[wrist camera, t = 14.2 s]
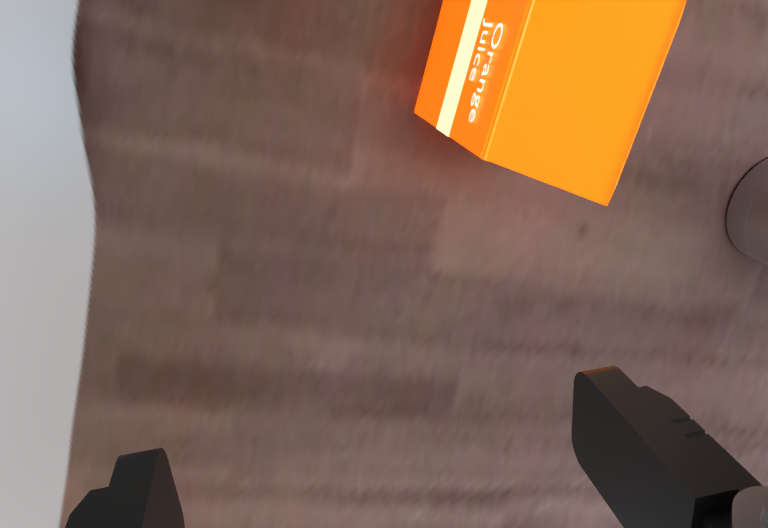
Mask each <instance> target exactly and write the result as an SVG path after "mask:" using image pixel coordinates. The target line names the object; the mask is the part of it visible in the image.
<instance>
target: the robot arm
mask: <svg viewBox="0 0 768 528" xmlns="http://www.w3.org/2000/svg"><path fill="white" fill-rule="evenodd" d="M727 231H728V235H729V238H730V240H731V242H732V244H733V245H734V246H735V247H736V248H737V249H738V250H739V251H741V252H742V253H744V254H746V255H747V256H749V257H751V258H753V259H755V260H757V261H759V262H761V263H763V264H765V265H767V266H768V158H767V159H765V160H764V161H762V162H761V163H759V164H758V165H756V166H755V167H754V168H753V169H752V170H751V171H749V172H748V174H747V175H746V176H745V177H744V178H743V179H742V181H741V182H740V183H739V185H738V187H737V188H736V190H735V192H734V193H733V196H732V198H731V201H730V203H729V207H728V212H727ZM572 442H573V447H574V451H575V454H576V457H577V459H578V462H579V464H580V465H581V467H582V469H583V470H584V471H585V473H586V474H587V476H588V477H589V478H590V480H591V481H592V483H593V484H594V486H595V487H596V488H597V490H598V491H599V493H600V494H601V496H602V497H603V498H604V500H605V501H606V503H607V504H608V506H609V507H610V508H611V510H612V511H613V513H614V514H615V516H616V517H617V518H618V520H619V521H620V523H621V524H622V526H623V527H624V528H768V486H762V485H761V484H760V483H759V482H758V481H757V480H756V479H755V478H754V477H753V476H752V475H751V474H750V473H749V472H748V471H747V470H746V469H745V468H743V467H742V466H741V465H740V464H739V463H738V462H737V461H736V460H735V459H734V458H733V457H732V456H731V455H730V454H729V453H728V452H727V451H726V450H725V449H724V448H723V447H721V446H720V445H719V444H718V443H717V442H716V441H715V440H714V439H713V438H712V437H711V436H710V435H709V434H705V430H704V429H703V428H702V427H700V426H699V425H698V424H697V423H696V422H695V421H694V420H691V419H690V416H689V415H688V414H687V413H686V412H685V411H684V410H683V409H682V408H681V407H679V406H678V405H677V404H676V403H675V402H674V401H673V400H672V399H671V398H669V397H667V396H665V395H663V394H661V393H659V392H657V391H655V390H653V389H651V388H649V387H648V386H643V387H637V386H636V385H635V384H634V383H633V382H632V381H631V380H630V379H629V378H628V377H627V376H626V375H625V374H624V373H623V372H622V371H621V370H620V369H619V368H618V367H616V366H610V367H605V368H599V369H594V370H588V371H583V372H578V373H577V374H576V376H575V379H574V393H573V416H572ZM65 528H185V526H184V518H183V512H182V508H181V505H180V501H179V498H178V494H177V490H176V487H175V483H174V480H173V476H172V472H171V469H170V465H169V462H168V458H167V455H166V453H165V451H164V449H163V448H159V449H153V450H148V451H142V452H137V453H131V454H126V455H121V456H119V457H118V459H117V461H116V464H115V468H114V471H113V474H112V477H111V481H110V484H109V487H106V488H100V489H95V490H90V491H89V493H88V494H87V495H86V496H85V497H84V499H83V500H82V501H81V502H80V503H79V504H78V506H77V507H76V508H75V509H74V510H73V512H72V513H71V514H70V516H69V519H68V521H67V524H66V527H65Z"/></svg>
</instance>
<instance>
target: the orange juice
mask: <svg viewBox="0 0 768 528" xmlns="http://www.w3.org/2000/svg"><path fill="white" fill-rule="evenodd" d="M685 3H686V0H443V4H442V7H441V11H440V15H439V19H438V23H437V26H436V30H435V34H434V38H433V42H432V45H431V49H430V53H429V57H428V61H427V64H426V68H425V72H424V76H423V80H422V83H421V87H420V91H419V95H418V99H417V103H416V106H415V110H414V113H416V114H417V115H419V116H420V117H422V118H423V119H424V120H426V121H427V122H429V123H430V124H432V125H433V126H435V127H436V129H437V130H439V131H440V132H442V133H443V134H445V135H446V136H448V137H451V138H452V139H454V140H455V141H456V142H458V143H459V144H461V145H462V146H464V147H465V148H467V149H468V150H469V151H471V152H472V153H474V154H475V155H477V156H478V157H480V158H481V159H483V160H485V161H490V162H493V163H495V164H498V165H501V166H503V167H506V168H508V169H511V170H514V171H516V172H519V173H521V174H524V175H527V176H529V177H532V178H535V179H537V180H540V181H542V182H545V183H548V184H550V185H553V186H555V187H558V188H561V189H563V190H566V191H568V192H571V193H574V194H576V195H579V196H582V197H584V198H587V199H589V200H592V201H595V202H597V203H600V204H602V205H605V206H606V207H607V205H608V202H609V200H610V198H611V196H612V194H613V192H614V190H615V188H616V186H617V183H618V180H619V178H620V175H621V173H622V170H623V168H624V165H625V162H626V160H627V157H628V155H629V152H630V149H631V147H632V144H633V142H634V139H635V136H636V134H637V131H638V129H639V126H640V123H641V121H642V118H643V116H644V113H645V110H646V108H647V105H648V103H649V100H650V98H651V95H652V92H653V90H654V87H655V85H656V82H657V79H658V77H659V74H660V72H661V69H662V66H663V64H664V61H665V59H666V56H667V53H668V51H669V48H670V46H671V43H672V40H673V38H674V35H675V33H676V30H677V28H678V25H679V22H680V20H681V17H682V14H683V10H684V7H685Z"/></svg>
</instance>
